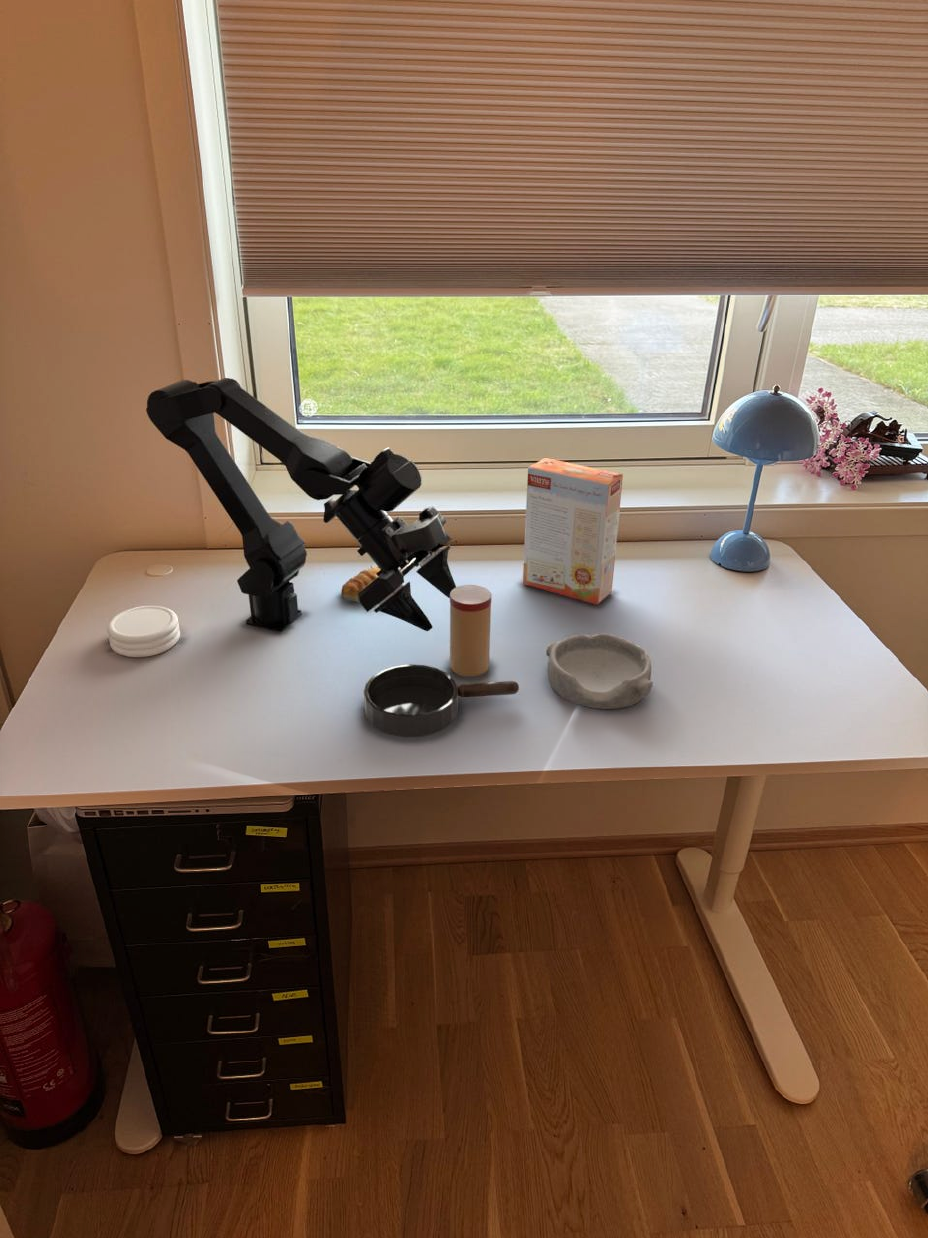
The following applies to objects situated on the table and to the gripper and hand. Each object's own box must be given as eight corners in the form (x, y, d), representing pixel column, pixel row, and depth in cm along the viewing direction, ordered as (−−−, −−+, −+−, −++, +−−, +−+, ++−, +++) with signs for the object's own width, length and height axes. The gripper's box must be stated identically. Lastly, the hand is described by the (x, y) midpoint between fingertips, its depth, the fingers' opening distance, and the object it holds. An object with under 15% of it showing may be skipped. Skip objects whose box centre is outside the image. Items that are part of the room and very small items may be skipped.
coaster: (132, 621, 143) (128, 601, 142) (192, 628, 142) (189, 608, 140) (97, 654, 135) (92, 633, 133) (160, 662, 133) (157, 641, 131)
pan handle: (457, 701, 122) (457, 689, 122) (455, 693, 124) (455, 682, 123) (519, 696, 123) (520, 685, 123) (517, 688, 125) (517, 677, 124)
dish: (661, 710, 124) (666, 679, 122) (561, 719, 122) (563, 687, 120) (627, 653, 137) (631, 624, 134) (536, 660, 135) (537, 631, 132)
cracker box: (613, 592, 153) (625, 472, 143) (597, 607, 149) (608, 484, 138) (538, 571, 160) (544, 454, 149) (521, 584, 155) (526, 466, 145)
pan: (349, 726, 120) (347, 703, 119) (390, 678, 130) (389, 657, 128) (435, 749, 117) (435, 726, 115) (471, 698, 126) (471, 676, 125)
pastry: (355, 609, 147) (354, 588, 145) (332, 593, 152) (331, 573, 150) (403, 592, 152) (403, 571, 151) (380, 577, 157) (379, 557, 155)
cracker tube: (449, 679, 130) (449, 604, 124) (449, 657, 135) (449, 584, 129) (490, 679, 130) (492, 604, 125) (488, 657, 135) (490, 584, 129)
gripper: (375, 522, 116) (454, 617, 118) (439, 474, 131) (508, 559, 133) (324, 566, 123) (400, 656, 125) (390, 515, 138) (457, 596, 140)
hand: (444, 614), depth 130 cm, fingers open, 9 cm apart
